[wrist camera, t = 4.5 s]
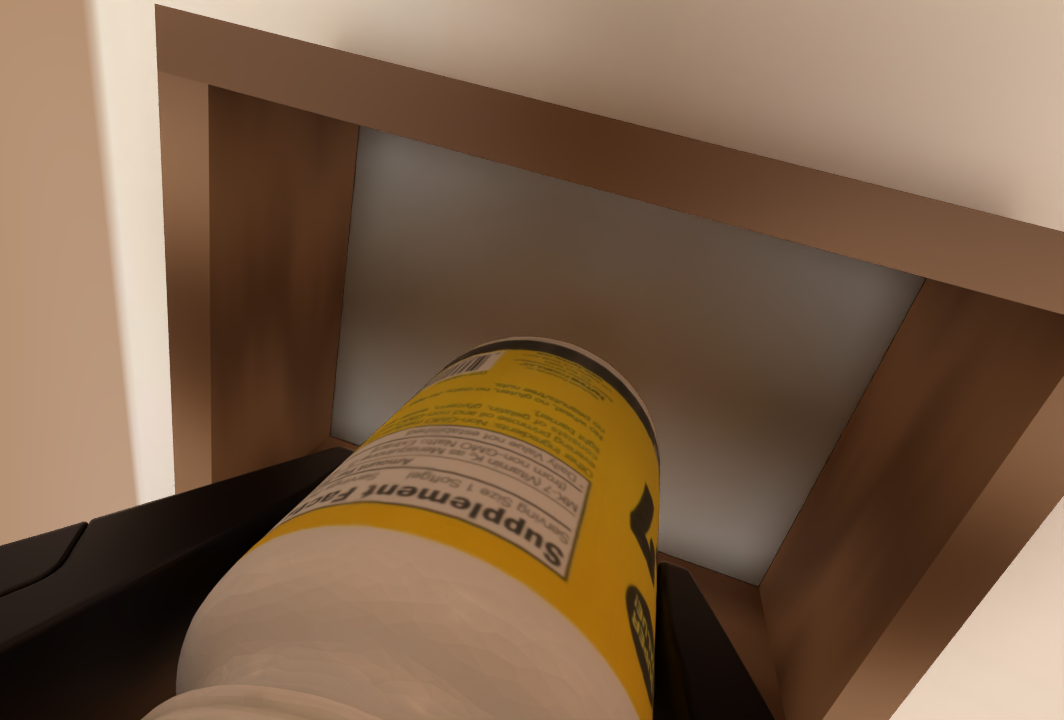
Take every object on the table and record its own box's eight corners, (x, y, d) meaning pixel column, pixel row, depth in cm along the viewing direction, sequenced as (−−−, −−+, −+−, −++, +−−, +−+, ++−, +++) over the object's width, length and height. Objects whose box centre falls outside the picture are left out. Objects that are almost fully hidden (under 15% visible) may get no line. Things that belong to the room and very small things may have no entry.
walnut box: (779, 623, 16) (820, 806, 12) (300, 451, 18) (177, 550, 14) (1011, 226, 11) (1235, 274, 7) (328, 53, 14) (154, 3, 9)
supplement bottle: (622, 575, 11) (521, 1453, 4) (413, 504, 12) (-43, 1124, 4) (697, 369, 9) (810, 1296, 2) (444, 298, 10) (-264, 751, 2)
